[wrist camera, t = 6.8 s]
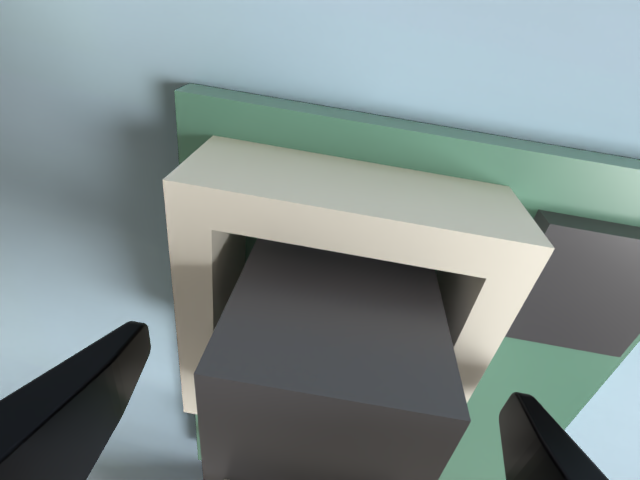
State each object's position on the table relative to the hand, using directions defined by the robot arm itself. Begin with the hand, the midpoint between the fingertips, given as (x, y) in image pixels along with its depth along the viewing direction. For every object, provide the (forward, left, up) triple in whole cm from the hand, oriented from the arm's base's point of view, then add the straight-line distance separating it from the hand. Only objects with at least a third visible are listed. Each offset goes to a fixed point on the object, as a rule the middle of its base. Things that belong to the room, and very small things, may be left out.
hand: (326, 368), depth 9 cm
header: (0, 0, -4) cm, 4 cm away
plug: (0, 0, -4) cm, 4 cm away
